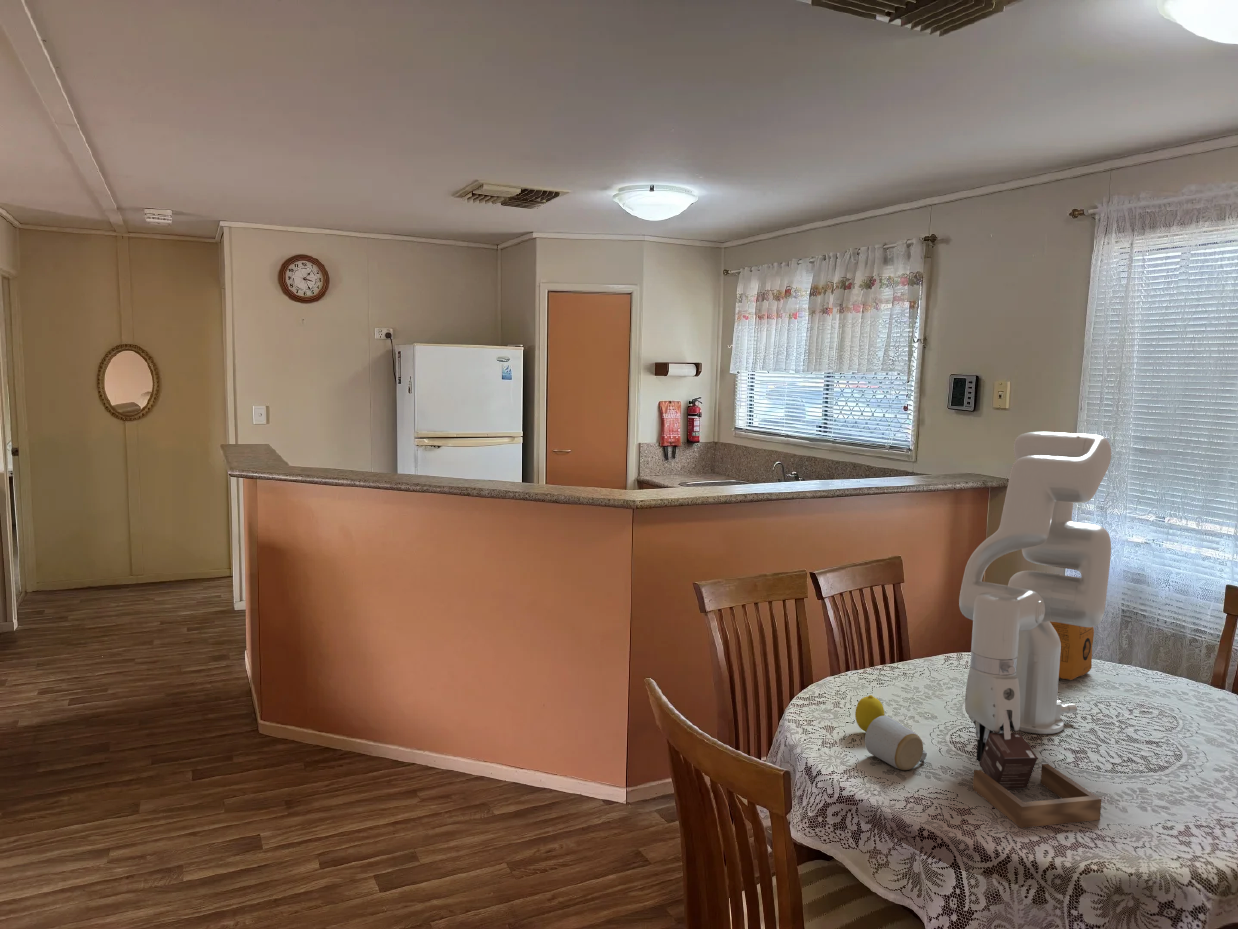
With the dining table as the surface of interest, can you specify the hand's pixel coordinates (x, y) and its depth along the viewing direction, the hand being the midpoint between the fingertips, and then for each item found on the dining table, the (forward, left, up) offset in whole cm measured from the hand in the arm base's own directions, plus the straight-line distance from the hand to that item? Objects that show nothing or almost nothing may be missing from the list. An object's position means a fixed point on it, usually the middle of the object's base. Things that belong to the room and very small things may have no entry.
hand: (986, 761), depth 150 cm
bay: (-1, +12, -2) cm, 12 cm away
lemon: (+13, -18, -2) cm, 23 cm away
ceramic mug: (+14, -7, -2) cm, 15 cm away
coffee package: (-51, -42, -2) cm, 66 cm away
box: (0, +4, -1) cm, 4 cm away
